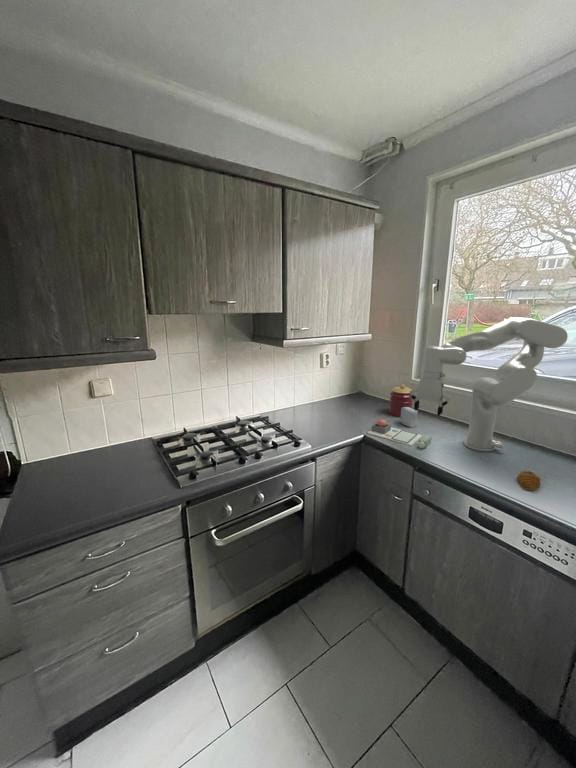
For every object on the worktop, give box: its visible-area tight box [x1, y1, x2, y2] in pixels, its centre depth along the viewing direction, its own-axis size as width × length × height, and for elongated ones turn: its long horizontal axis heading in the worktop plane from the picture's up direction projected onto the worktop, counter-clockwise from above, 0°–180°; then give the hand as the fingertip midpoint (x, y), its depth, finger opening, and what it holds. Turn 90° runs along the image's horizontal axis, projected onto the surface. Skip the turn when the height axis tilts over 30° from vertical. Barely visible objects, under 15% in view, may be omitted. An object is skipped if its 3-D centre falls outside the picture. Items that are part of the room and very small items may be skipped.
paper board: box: [367, 422, 423, 447], centre depth 156 cm, size 22×14×3 cm, turn 49°
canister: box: [388, 383, 414, 418], centre depth 184 cm, size 13×13×18 cm
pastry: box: [516, 470, 542, 492], centre depth 113 cm, size 9×7×4 cm
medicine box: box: [399, 407, 419, 428], centre depth 168 cm, size 8×4×9 cm, turn 22°
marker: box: [417, 434, 432, 449], centre depth 145 cm, size 3×10×3 cm, turn 139°
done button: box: [376, 418, 387, 428], centre depth 160 cm, size 4×4×3 cm
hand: (427, 412), depth 141 cm, fingers open, 9 cm apart
